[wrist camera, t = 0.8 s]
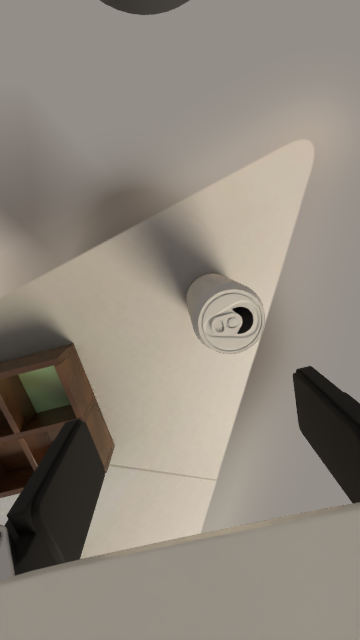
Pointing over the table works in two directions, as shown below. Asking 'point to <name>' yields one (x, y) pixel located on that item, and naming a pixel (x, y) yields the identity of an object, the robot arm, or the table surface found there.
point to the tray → (43, 412)
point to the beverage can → (225, 314)
